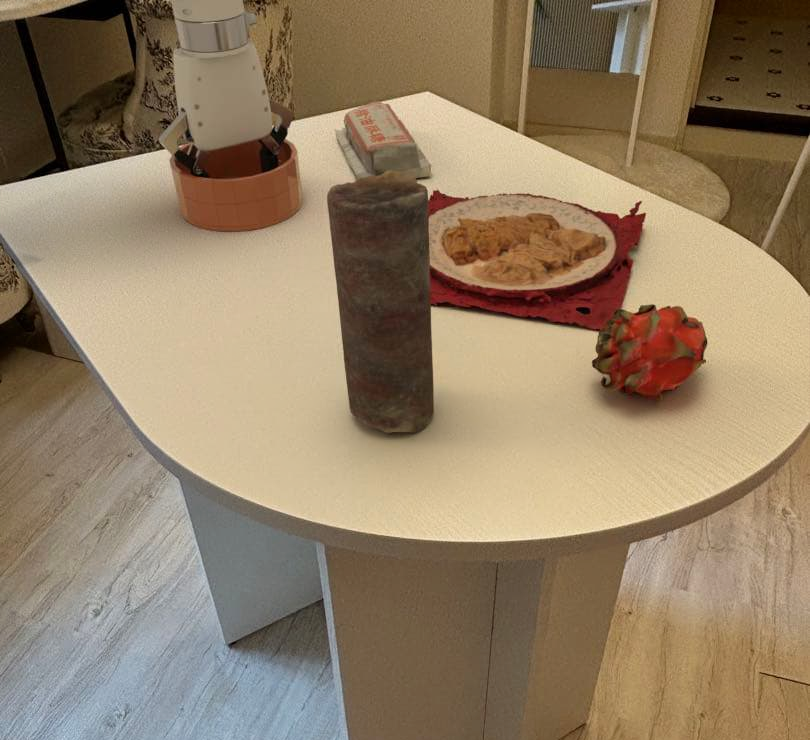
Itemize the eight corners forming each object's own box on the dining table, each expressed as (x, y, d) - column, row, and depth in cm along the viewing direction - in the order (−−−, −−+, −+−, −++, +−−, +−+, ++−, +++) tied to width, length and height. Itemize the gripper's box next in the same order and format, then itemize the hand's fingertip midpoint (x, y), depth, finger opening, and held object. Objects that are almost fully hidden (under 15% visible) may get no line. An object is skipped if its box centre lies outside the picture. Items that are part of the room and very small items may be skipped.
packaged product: (433, 139, 101) (356, 148, 100) (433, 178, 105) (359, 187, 103) (400, 94, 113) (331, 101, 112) (401, 130, 117) (334, 138, 115)
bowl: (155, 211, 100) (143, 161, 95) (242, 171, 108) (235, 123, 103) (241, 243, 93) (231, 191, 89) (326, 198, 101) (322, 148, 97)
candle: (348, 443, 67) (326, 207, 53) (345, 391, 72) (325, 164, 58) (438, 436, 67) (440, 201, 53) (429, 386, 72) (429, 158, 58)
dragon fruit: (574, 415, 72) (675, 395, 76) (638, 409, 64) (747, 387, 69) (562, 318, 70) (666, 304, 75) (626, 301, 62) (737, 286, 67)
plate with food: (434, 205, 100) (434, 177, 97) (644, 225, 93) (649, 195, 91) (369, 301, 84) (366, 270, 82) (614, 332, 78) (619, 301, 75)
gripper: (269, 13, 92) (287, 168, 105) (124, 39, 86) (162, 200, 98) (299, 27, 88) (315, 187, 100) (149, 55, 81) (186, 222, 94)
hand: (239, 193), depth 99 cm, fingers open, 8 cm apart
